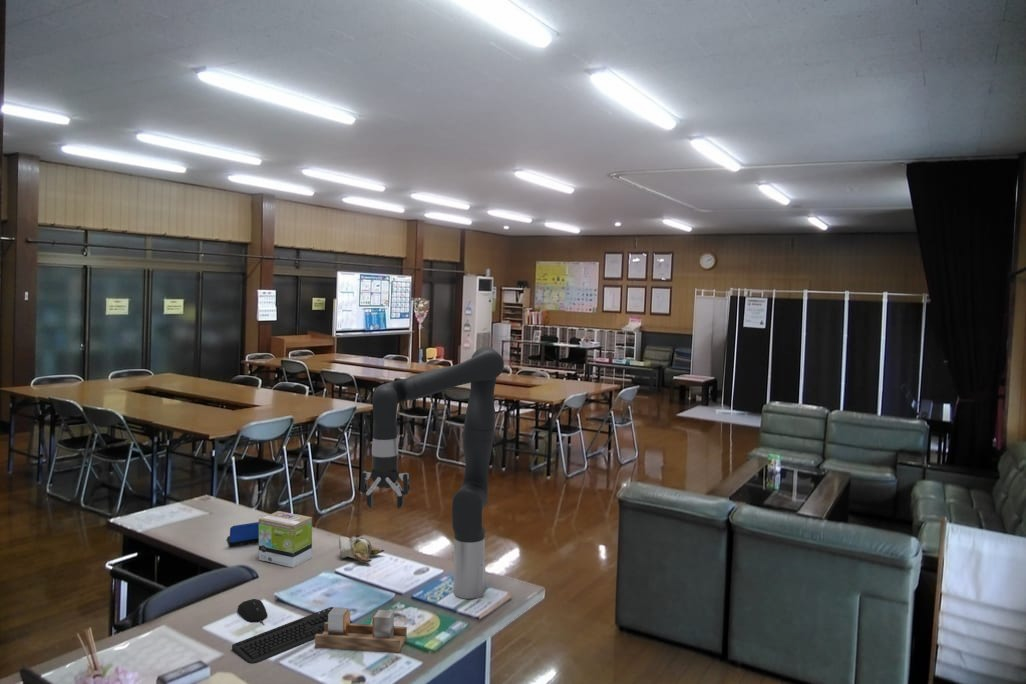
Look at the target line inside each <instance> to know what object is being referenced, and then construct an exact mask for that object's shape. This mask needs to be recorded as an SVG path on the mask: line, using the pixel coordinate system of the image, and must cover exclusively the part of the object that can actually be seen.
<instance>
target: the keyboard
mask: <svg viewBox="0 0 1026 684" xmlns="http://www.w3.org/2000/svg"><path fill="white" fill-rule="evenodd" d="M334 607H335V606H330V607H328V608H324V609H321V610H320V611H317V612H314V613H312V614H309V615H306V616H304V617H301V618H298V619H296V620H293V621H290V622H288V623H286V624H285V623H284V624H282V625H279V626H278V627H275V628H272V629H269V630H267V631H264V632H262V633H259V634H256V635H253V636H251V637H248V638H245V639H243V640H240V641H238V642H235V643H233V644H232V645H231V651H233V652H234V653H235V654H236V655H237V656H239V657H240V658H241V659H242V660H244V661H245V662H247V663H248V664H251V665H253V664H258V663H261V662H264V661H266V660H268V659H270V658H273V657H275V656H278V655H280V654H283V653H286V652H288V651H290V650H292V649H294V648H298V647H299V646H302V645H304V644H307V643H310V642H312V641H315V635H316V634H322V633H323V632H324V624H325V622H328V614H329V612H330V611H331V610H332V609H333V608H334ZM350 623H352V624H353V621H352V620H351V619H350Z"/></svg>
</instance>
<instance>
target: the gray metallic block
mask: <svg viewBox="0 0 1026 684" xmlns="http://www.w3.org/2000/svg"><path fill="white" fill-rule="evenodd" d="M333 607H334V608H333V609H332V610H331V611H330V612H329V614H328V635H343V636H347V635H348V634H349V630H350V620H351V611H350V610H349V607H339V606H338V607H337V606H333Z"/></svg>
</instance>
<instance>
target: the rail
mask: <svg viewBox="0 0 1026 684" xmlns="http://www.w3.org/2000/svg"><path fill="white" fill-rule="evenodd" d="M394 620H395V611H394V610H388V609H386V610H385V609H378V611H377V612H375V613H374V616H372V624H365V623H353V622H352V623H350V630H349V634H348V635H347V636H343V635H328V622H325V624H324V632H323V633H322V634H316V635H315V640H314V648H320V649H321V648H322V649H323V648H324V649H338V650H339V649H341V650H353V651H354V650H355V651H368V652H369V651H370V652H371V651H372V652H385V653H400V652H401V650H402V648H403V646H404V643H405V642H406V639H408V638H407V631H408V628H407V626H398V625H394V623H395V621H394Z"/></svg>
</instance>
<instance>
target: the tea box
mask: <svg viewBox="0 0 1026 684" xmlns="http://www.w3.org/2000/svg"><path fill="white" fill-rule="evenodd" d="M258 522H259V543H258V560H259V561H264V562H268V563H272V564H275V565H281V566H284V567H288V568H293V569H294V568H295V567H297V566H300V565H301V564H303V563H305V562H307V561H309V560H310V559H311V558H312V557H313V516H307V515H303V514H302V515H301V514H296V513H290V512H287V511H281V510H280V511H279V510H277V511H275V512H272V513H271V514H267V515H266V516H264V517H261V518H258Z"/></svg>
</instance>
